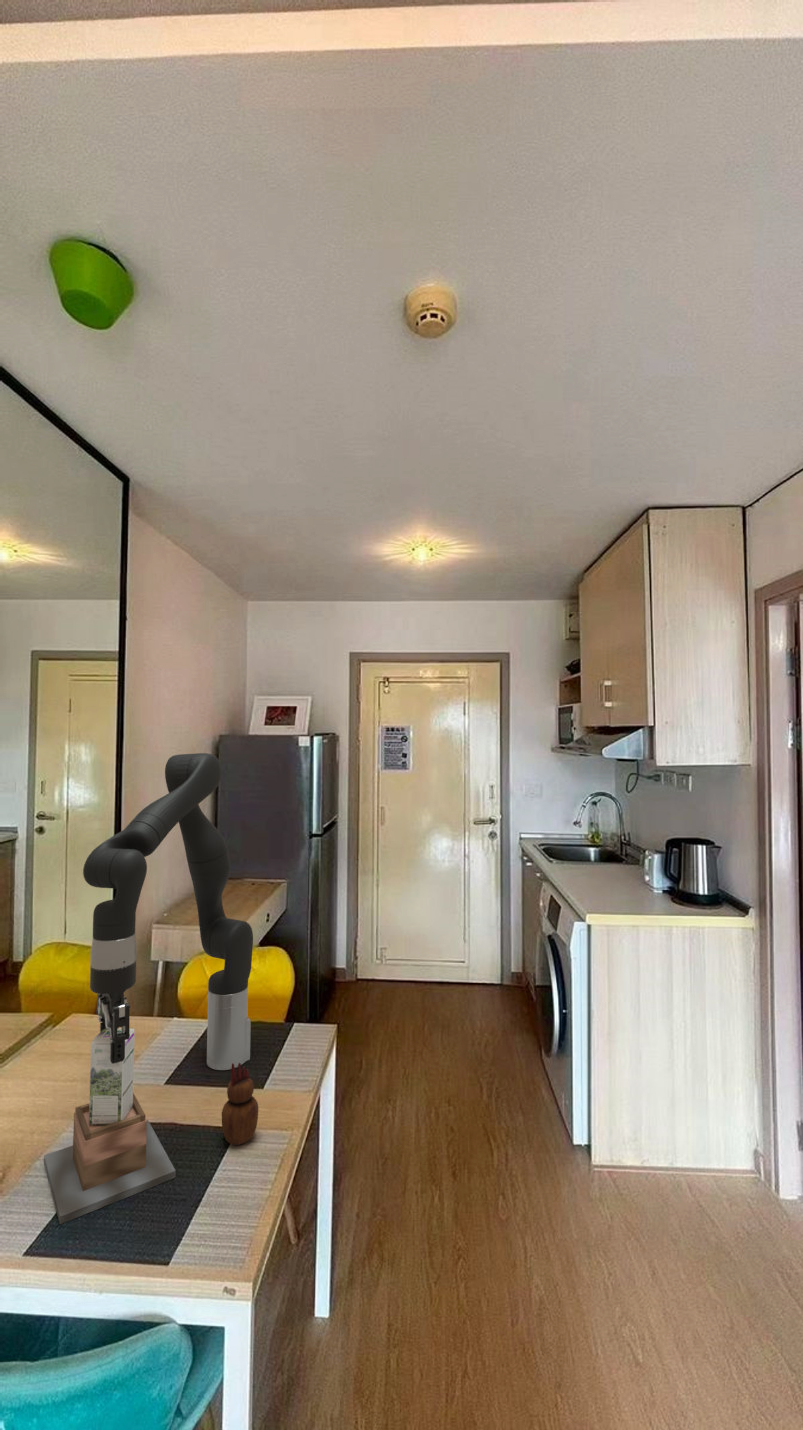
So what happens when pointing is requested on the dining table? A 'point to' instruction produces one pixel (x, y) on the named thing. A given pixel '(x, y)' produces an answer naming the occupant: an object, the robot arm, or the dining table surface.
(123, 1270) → the dining table surface
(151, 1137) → the tower base
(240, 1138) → the wooden figurine
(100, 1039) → the syrup box
